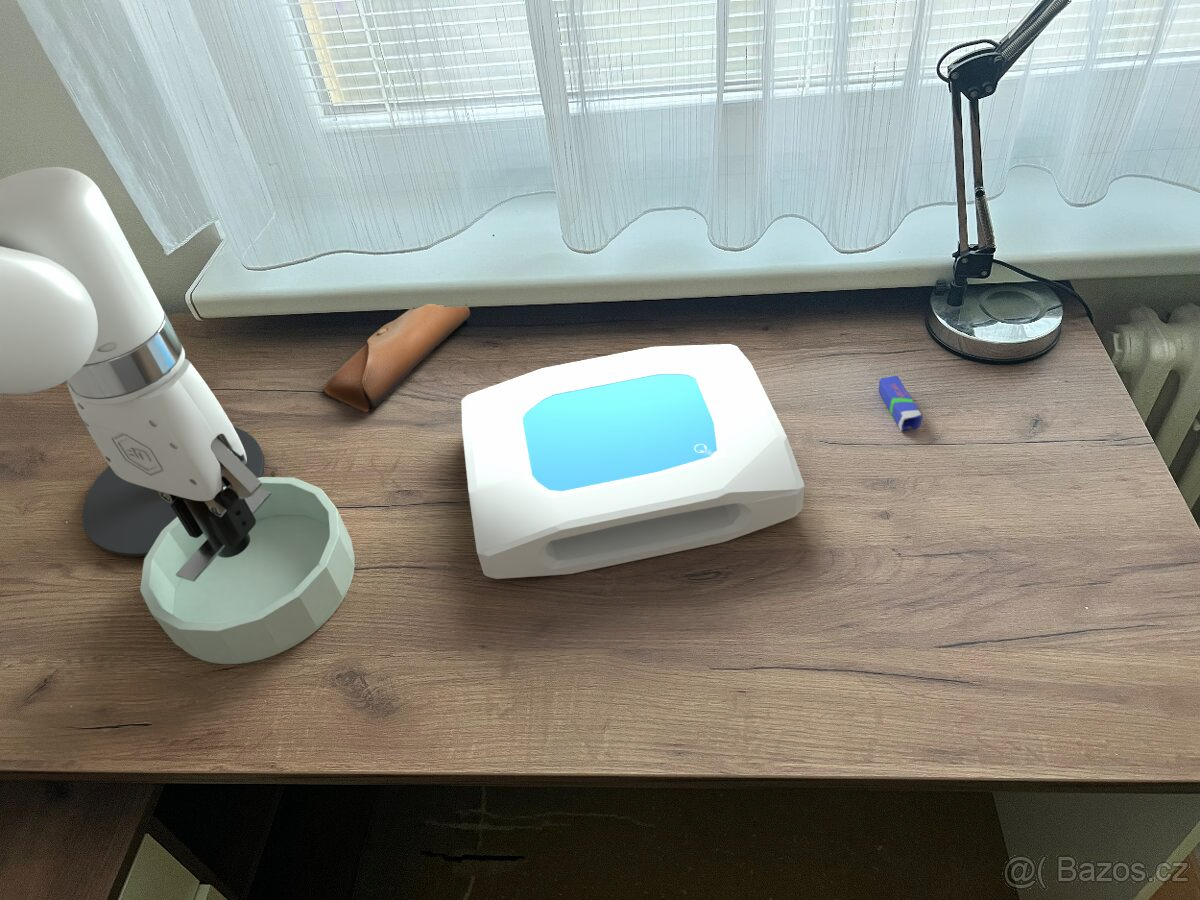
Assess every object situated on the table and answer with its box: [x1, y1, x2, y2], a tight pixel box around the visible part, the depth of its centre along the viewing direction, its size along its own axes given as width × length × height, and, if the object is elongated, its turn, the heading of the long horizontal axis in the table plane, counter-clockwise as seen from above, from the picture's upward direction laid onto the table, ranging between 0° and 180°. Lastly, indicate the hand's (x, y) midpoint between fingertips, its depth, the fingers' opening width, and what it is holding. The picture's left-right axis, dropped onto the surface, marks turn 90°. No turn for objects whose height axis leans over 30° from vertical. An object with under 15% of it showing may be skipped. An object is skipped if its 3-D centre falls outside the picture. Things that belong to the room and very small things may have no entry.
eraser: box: [878, 375, 923, 432], centre depth 85 cm, size 2×6×2 cm, turn 7°
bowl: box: [139, 476, 356, 665], centre depth 76 cm, size 17×17×5 cm
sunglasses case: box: [322, 303, 471, 414], centre depth 98 cm, size 18×7×7 cm
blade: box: [176, 487, 272, 582], centre depth 71 cm, size 10×3×7 cm, turn 158°
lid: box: [81, 426, 265, 558], centre depth 85 cm, size 18×18×8 cm
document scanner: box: [460, 343, 806, 580], centre depth 81 cm, size 21×28×6 cm
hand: (223, 528), depth 72 cm, fingers closed on blade, 3 cm apart
